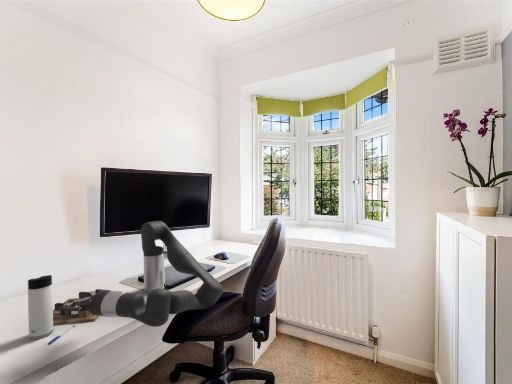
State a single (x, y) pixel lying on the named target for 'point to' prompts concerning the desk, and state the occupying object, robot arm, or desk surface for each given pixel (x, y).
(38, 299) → the travel mug
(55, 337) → the ballpoint pen
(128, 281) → the desk surface
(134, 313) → the robot arm
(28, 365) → the desk surface
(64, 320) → the mug holder
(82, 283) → the desk surface
